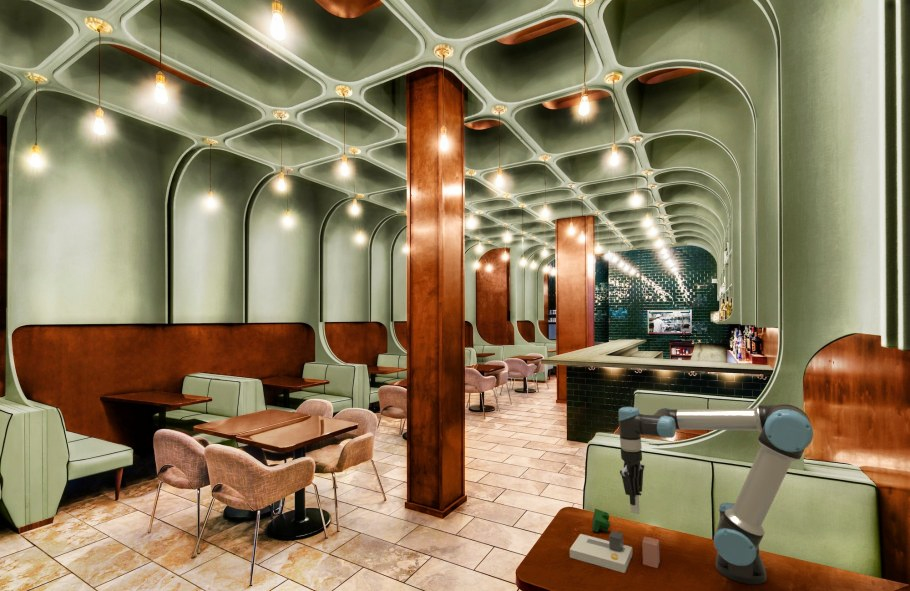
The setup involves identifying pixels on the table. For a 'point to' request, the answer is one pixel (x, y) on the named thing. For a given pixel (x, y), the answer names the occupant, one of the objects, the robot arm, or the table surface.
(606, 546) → the block
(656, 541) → the post
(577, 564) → the table surface
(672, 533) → the table surface
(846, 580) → the table surface
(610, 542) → the breaker toggle
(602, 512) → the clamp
